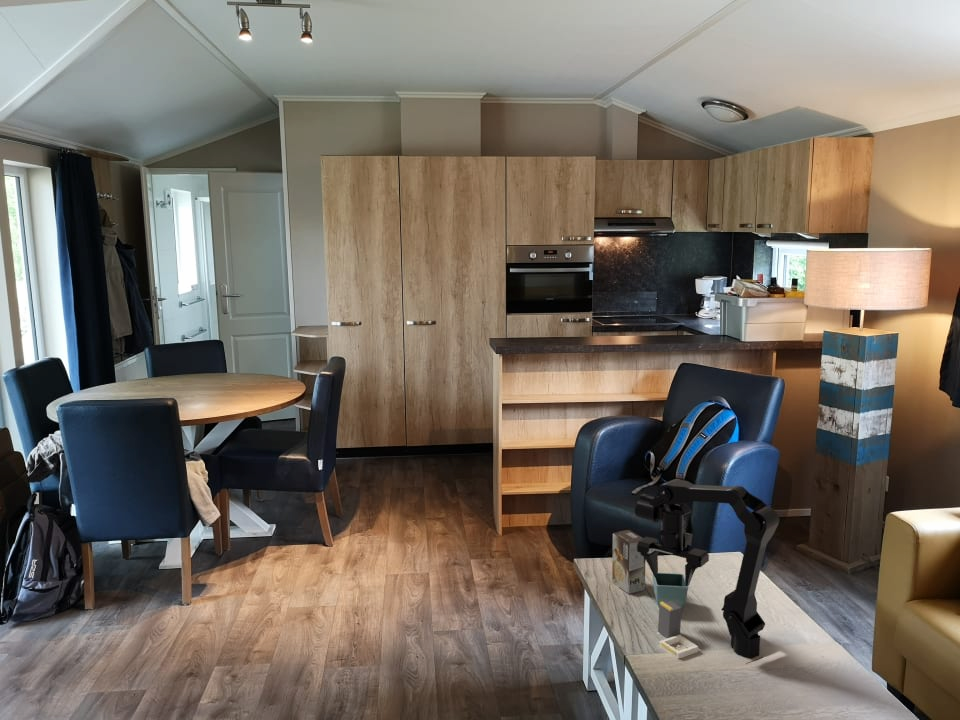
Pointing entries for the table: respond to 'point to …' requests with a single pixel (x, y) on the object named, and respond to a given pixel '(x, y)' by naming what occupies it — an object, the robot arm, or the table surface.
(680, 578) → the flower pot
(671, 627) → the plug
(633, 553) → the coffee box
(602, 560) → the table surface
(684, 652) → the header board
